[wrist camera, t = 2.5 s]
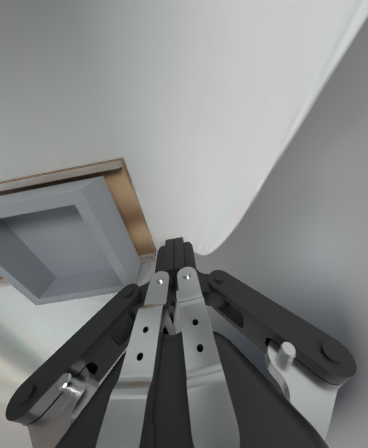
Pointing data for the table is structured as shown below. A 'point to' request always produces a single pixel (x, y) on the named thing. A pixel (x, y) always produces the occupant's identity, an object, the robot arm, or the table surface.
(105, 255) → the shallow grey tray
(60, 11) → the table surface
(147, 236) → the rail board
